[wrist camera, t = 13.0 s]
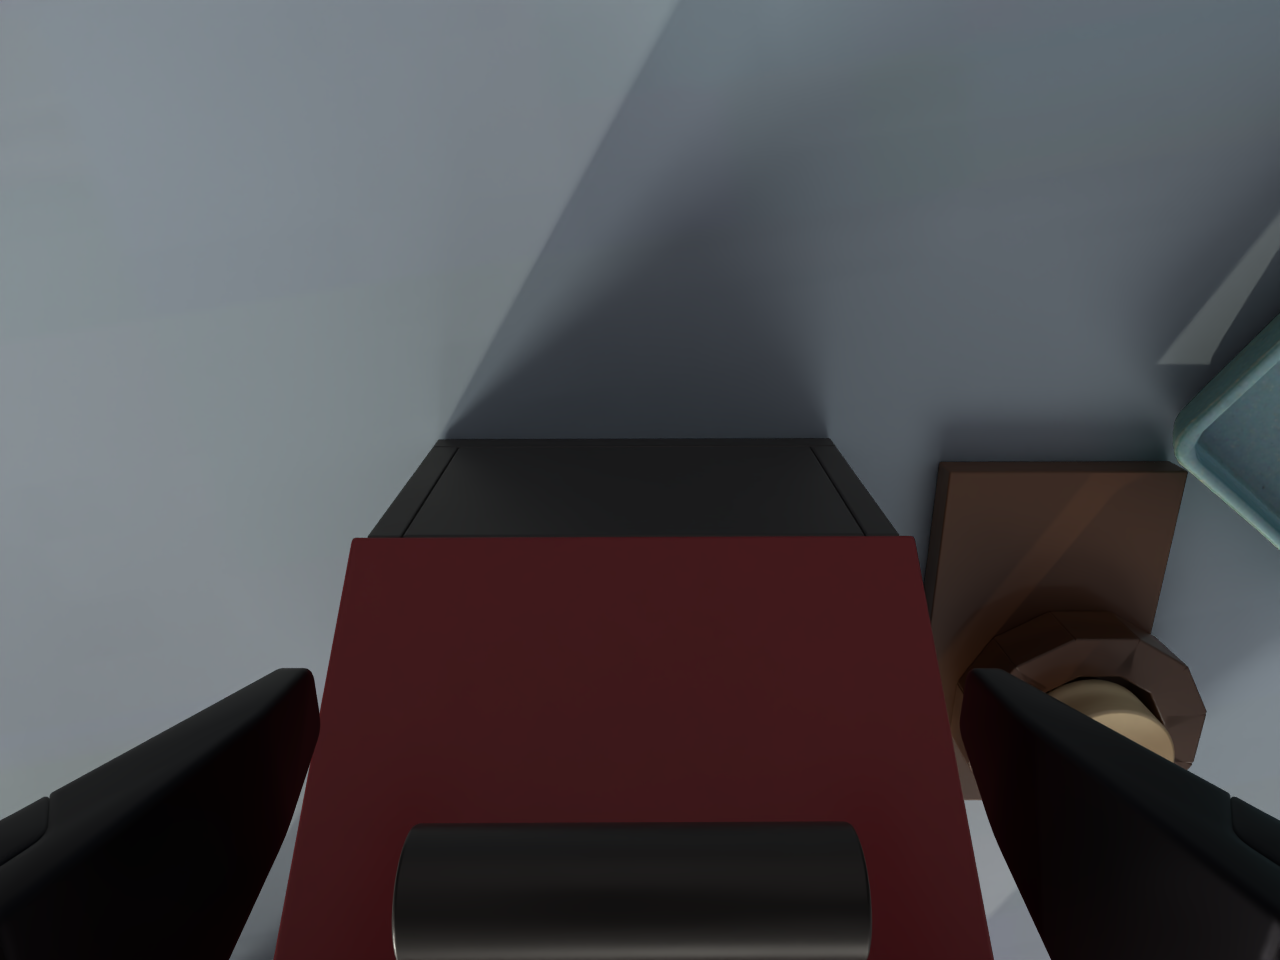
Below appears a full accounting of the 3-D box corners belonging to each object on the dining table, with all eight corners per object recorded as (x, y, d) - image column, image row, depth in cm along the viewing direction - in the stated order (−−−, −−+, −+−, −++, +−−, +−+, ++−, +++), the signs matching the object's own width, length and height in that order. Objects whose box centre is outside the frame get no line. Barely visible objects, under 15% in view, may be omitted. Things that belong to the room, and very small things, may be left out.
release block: (1129, 781, 28) (1174, 837, 25) (899, 781, 28) (923, 838, 25) (1204, 460, 24) (1267, 492, 22) (938, 461, 24) (971, 492, 22)
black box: (802, 799, 28) (850, 982, 22) (469, 801, 28) (420, 985, 22) (830, 437, 24) (900, 534, 17) (438, 438, 24) (366, 535, 17)
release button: (1130, 782, 25) (1161, 820, 24) (1008, 783, 25) (1031, 820, 24) (1156, 677, 24) (1189, 710, 23) (1027, 677, 24) (1052, 710, 22)
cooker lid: (1072, 1516, 11) (1356, 1863, 6) (195, 1523, 11) (-99, 1877, 6) (901, 556, 17) (986, 418, 13) (365, 558, 17) (277, 420, 13)
